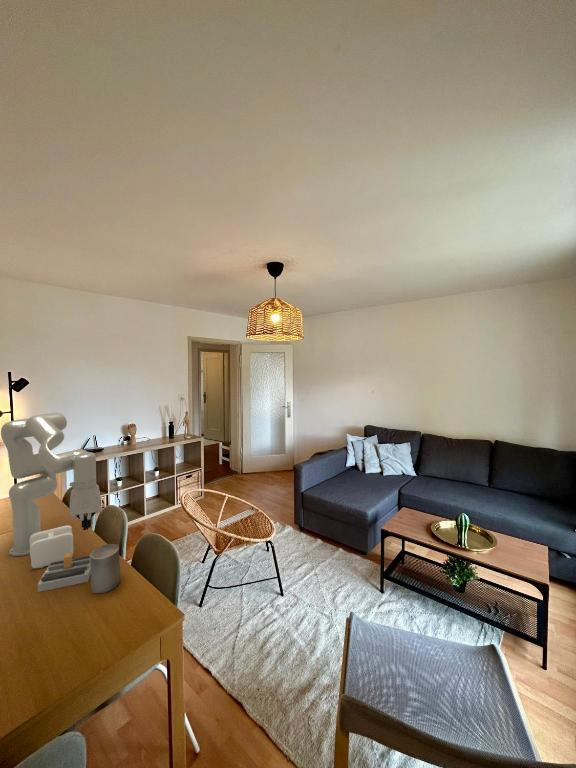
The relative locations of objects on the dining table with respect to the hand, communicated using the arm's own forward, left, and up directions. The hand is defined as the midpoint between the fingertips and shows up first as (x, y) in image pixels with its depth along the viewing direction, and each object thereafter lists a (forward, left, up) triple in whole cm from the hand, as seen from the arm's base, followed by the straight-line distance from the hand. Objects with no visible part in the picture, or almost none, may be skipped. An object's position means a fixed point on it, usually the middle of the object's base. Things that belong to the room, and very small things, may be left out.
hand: (86, 528), depth 123 cm
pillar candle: (+10, +8, -19) cm, 23 cm away
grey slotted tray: (0, -7, -19) cm, 20 cm away
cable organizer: (-16, -17, -19) cm, 30 cm away
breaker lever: (0, -7, -16) cm, 17 cm away
